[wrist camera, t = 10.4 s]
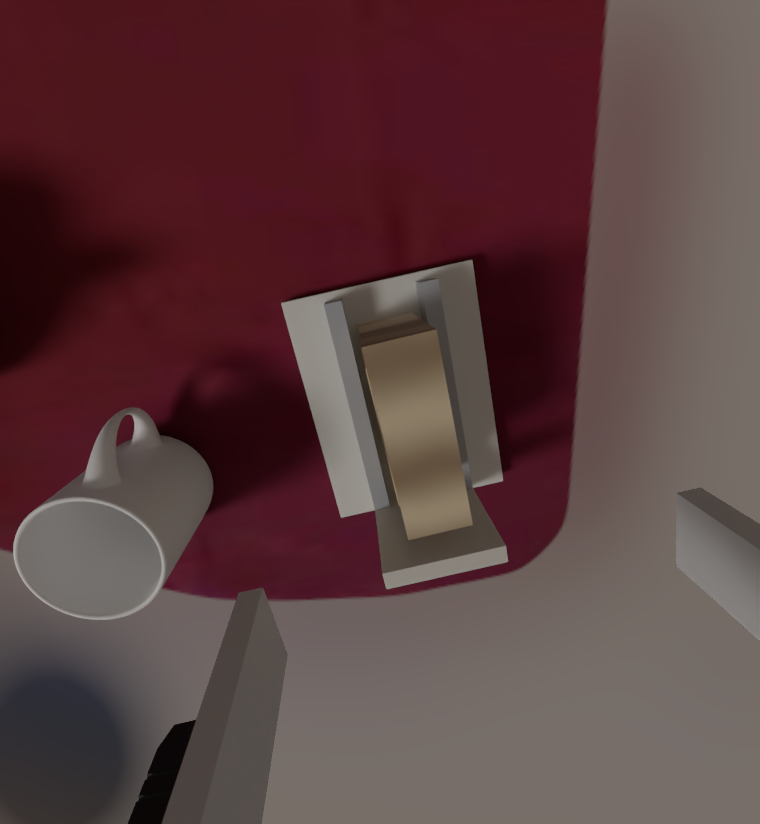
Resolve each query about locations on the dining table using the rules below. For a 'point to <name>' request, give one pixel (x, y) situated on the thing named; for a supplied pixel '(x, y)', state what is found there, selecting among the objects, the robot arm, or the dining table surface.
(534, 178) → the dining table surface
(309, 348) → the white stand
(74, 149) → the dining table surface
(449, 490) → the door panel
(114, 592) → the mug
